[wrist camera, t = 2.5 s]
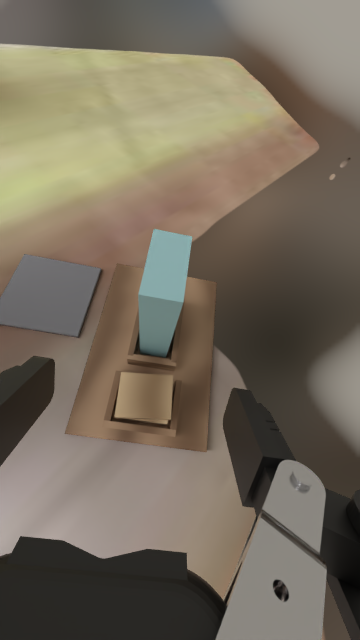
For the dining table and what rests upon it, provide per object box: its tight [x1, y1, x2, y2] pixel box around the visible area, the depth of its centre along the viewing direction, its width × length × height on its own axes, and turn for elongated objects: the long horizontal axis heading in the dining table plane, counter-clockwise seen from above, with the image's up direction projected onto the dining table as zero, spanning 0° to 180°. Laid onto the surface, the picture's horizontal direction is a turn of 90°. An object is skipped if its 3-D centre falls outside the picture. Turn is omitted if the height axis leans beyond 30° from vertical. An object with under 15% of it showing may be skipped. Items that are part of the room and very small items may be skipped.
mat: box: [0, 254, 101, 337], centre depth 29 cm, size 10×10×1 cm
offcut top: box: [115, 372, 173, 420], centre depth 22 cm, size 5×4×2 cm
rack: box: [65, 264, 217, 452], centre depth 27 cm, size 14×21×3 cm, turn 173°
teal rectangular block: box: [138, 229, 192, 358], centre depth 22 cm, size 3×6×13 cm, turn 173°
